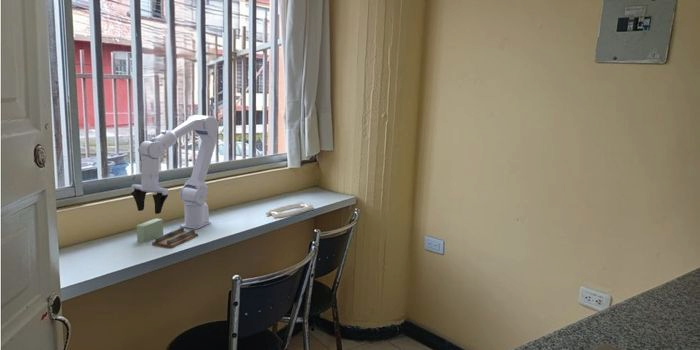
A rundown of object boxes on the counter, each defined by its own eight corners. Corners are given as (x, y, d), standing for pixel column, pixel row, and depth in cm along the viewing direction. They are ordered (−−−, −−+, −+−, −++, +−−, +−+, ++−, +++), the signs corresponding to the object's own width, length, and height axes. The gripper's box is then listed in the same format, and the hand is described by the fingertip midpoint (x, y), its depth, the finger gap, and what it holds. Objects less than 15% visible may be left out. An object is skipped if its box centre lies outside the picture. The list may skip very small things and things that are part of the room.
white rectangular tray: (261, 216, 213) (301, 205, 233) (277, 220, 207) (316, 209, 227) (261, 210, 213) (301, 200, 232) (277, 214, 207) (317, 204, 226)
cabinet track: (180, 232, 186) (180, 226, 185) (198, 235, 183) (197, 229, 183) (152, 244, 172) (152, 238, 172) (171, 248, 169) (170, 241, 169)
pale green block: (156, 233, 185) (156, 218, 183) (163, 234, 184) (162, 219, 182) (137, 241, 175) (136, 225, 174) (144, 242, 174) (143, 226, 173)
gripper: (125, 173, 174) (124, 211, 176) (158, 178, 169) (158, 216, 171) (139, 171, 181) (139, 207, 182) (172, 176, 176) (171, 213, 178)
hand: (149, 211), depth 177 cm, fingers open, 7 cm apart
